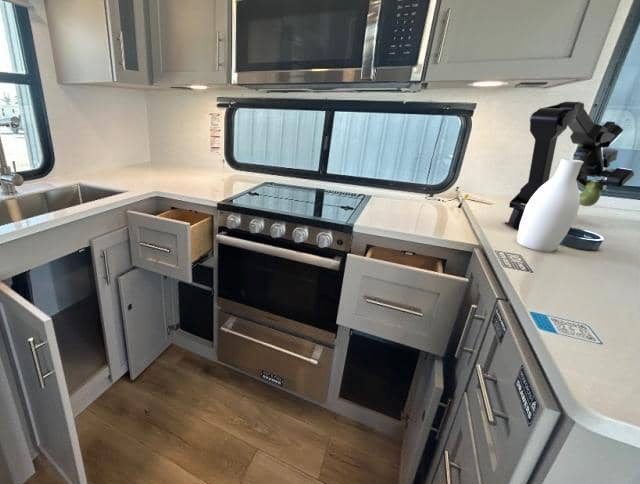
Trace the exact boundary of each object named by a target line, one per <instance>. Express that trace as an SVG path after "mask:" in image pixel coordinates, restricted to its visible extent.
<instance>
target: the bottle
mask: <svg viewBox="0 0 640 484" xmlns="http://www.w3.org/2000/svg"><path fill="white" fill-rule="evenodd" d="M583 163H584V162H583V161H579V159H571V158H561V159H560V163H559V165H558V167H557V168H558V169H557V168H556V171H555V173H554V175H553V176H552V177H551V178H549V180H548V181H547V182H546V183H545V184H543V185H542V186H541V187H540V188H539V189H538V190H537V191H536V192H535V193H534V194H533V196H532V197H531V198H530V200H529V202H528V203H527V205H526V204H525V205H526V207H525V210H524V213H523V216H522V219H521V222H520V226H519V230H517V236H516V241H517V243H518V244H519V245H521V246H522V247H526V248H527V249H531V250H534V251H539V252H548V253H550V252H554V251H555V250H557V249H558V247H559V246H560V245H561V244H560V243H561V241H562V240H563V238H564V237H565V236H566V234H567V233H568V231H569V229H570V227H572V225H573V223H574V222H575V220H576V219H577V216H578V212H579V210H580V209H579V208H580V204H579V203H580V193H581V192H580V190H579V189H580V188H579V186H578V185H579V184H578V183H577V182H576V178H577V176H578V173H579V170H580V168H581V165H582V164H583Z"/></svg>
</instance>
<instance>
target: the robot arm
mask: <svg viewBox="0 0 640 484" xmlns="http://www.w3.org/2000/svg"><path fill="white" fill-rule="evenodd" d="M567 128H569V129H570V131H571V132H572V133H571V135H570V136H569V137H570V141H571V142H572V144H573V145H579V146H578V147H577V149H576V151H574V153H573V157H578V160H579V161H583V162H584V163H583V164H582V165H581V168H580V170H579V173H578V176H577V178H576V182H577V184H578V185H580V186H582V187H583V188H585V189H586V182H587V181H588V180H589V179H588V177H590V178H601V179H599V180H600V181H599V182H598V183H597V184H598V186H599V188H600V190H601V192H603V191H605V190H606V188H607V187H608V186H612V187H618V188H619V187H623V186H624V185H625V184H626V183H628V181H629V180H631V179H632V178H633V177H634V176H635V171H634V169H630V168H624V167H616V168H609V167H610V166H611V163H612V162H614V161H616V160H617V159H618V155H619V150H618V149H611V148H610V149H609V148H608V147H610V146H611V145H612V144H613V143H614V142H616V140H617V139H618V138H619V137H620V136H621V135H622V134H623V133H624V129H623V128H622V127H621V126H620V125H618V124H616V122H615V121H606V122H605V123H604V124H603V125H602V124H599V123H595V122H594V121H593V120H592V118H591V116H590V115H589V114H588V112H587V111H586V109H585V103H583V102H581V101H563V102H560V103H557V104H554V105H549V106H545V107H540V108H539V109H537V110H536V111H534V112H533V113H532V114H531V116H530V117H529V132H530V133H531V135H532V137H533V138H534V145H533V151H532V156H531V162H530V169H529V174H528V180H527V182H526V183H525V184H524V185H523V186H522V187H521V188H520V191H519V192H518V193H517V194H516V195H515V196H514V197H513V198H512V199H511V200H510V201H509V205H508V207H509V208H511V209H512V212H511V214H510V216H509V219H508V221H504V224H505V225H507V227H510V228H512V229H513V230H516V231H519V226H520V222H521V219H522V216H523V213H524V210H525V207H526V205H527V203H528V202H529V200H530V198H531V197H532V196H533V194H534V193H535V192H536V191H537V190H538V189H539V188H540V187H541V186H542V185H543V184H545V183H546V182H547V181H548V180H550V175H551V170H552V166H553V161H554V157H555V152H556V145H557V141H558V137H559V136H560V135H562V133H563V132H565V131H566V130H567ZM608 168H609V169H608ZM557 169H558V167H557V168H556V170H557Z"/></svg>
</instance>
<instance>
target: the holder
mask: <svg viewBox="0 0 640 484" xmlns="http://www.w3.org/2000/svg"><path fill="white" fill-rule="evenodd" d="M604 240H605V238H604V237H603V236H602V235H600V234H598V233H595V232H593V231H592V232H591V231H589V230H584V229H581V228H576V227H572V226H571V227H570V229H569V231H568V233H567V234H566V236H565V237H564V238H563V240H562V241H561V243H560V244H559V245H563V246H564V247H569V248H573V249H578V250H582V251H583V250H585V251H593V250H594V251H595V250H599V249H600V247H601V246H602V244H603V242H604Z"/></svg>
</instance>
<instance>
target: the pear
mask: <svg viewBox="0 0 640 484" xmlns="http://www.w3.org/2000/svg"><path fill="white" fill-rule="evenodd" d="M600 180H601V179H598V178H597V179H596V178H594V179H593V178H592V179H588V181H587V182H586V188H585V189H584V190H583V191H581V192H579V193H580V203H579V206H583V207H591V206H593V205H596V204H597V203H598V201H599V200H600V198H601V192H602V191H601V190H600V188H599V186H598V184H597V183H598V182H599V181H600Z"/></svg>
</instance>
